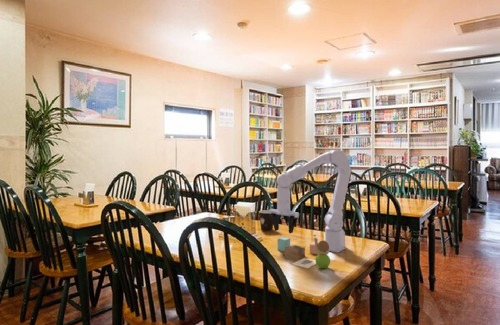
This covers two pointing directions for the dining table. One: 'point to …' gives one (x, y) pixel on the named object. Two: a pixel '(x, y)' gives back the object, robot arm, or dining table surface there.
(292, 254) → the walnut base brick
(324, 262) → the snail figurine
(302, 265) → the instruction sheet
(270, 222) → the coffee mug
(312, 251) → the terracotta brick
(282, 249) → the teal brick
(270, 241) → the dining table surface
